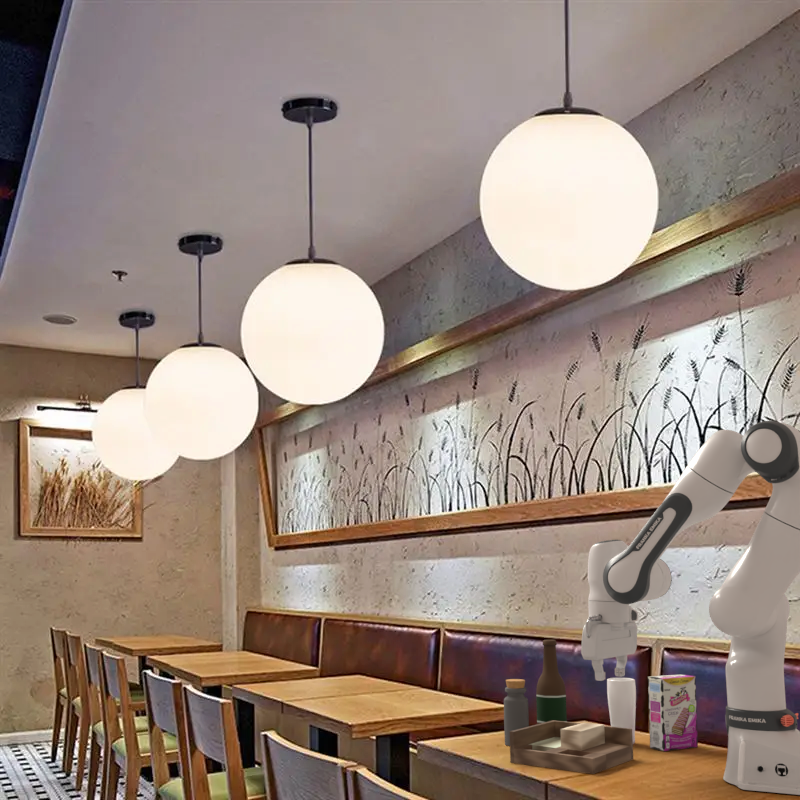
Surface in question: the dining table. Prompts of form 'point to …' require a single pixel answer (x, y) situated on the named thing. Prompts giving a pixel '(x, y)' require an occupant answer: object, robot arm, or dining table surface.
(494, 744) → the dining table surface
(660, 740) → the candy bar box
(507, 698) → the bottle
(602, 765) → the brown compartment tray
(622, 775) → the dining table surface
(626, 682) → the drinking glass
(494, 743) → the dining table surface
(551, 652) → the beer bottle
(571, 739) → the cream rectangular block
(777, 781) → the robot arm
